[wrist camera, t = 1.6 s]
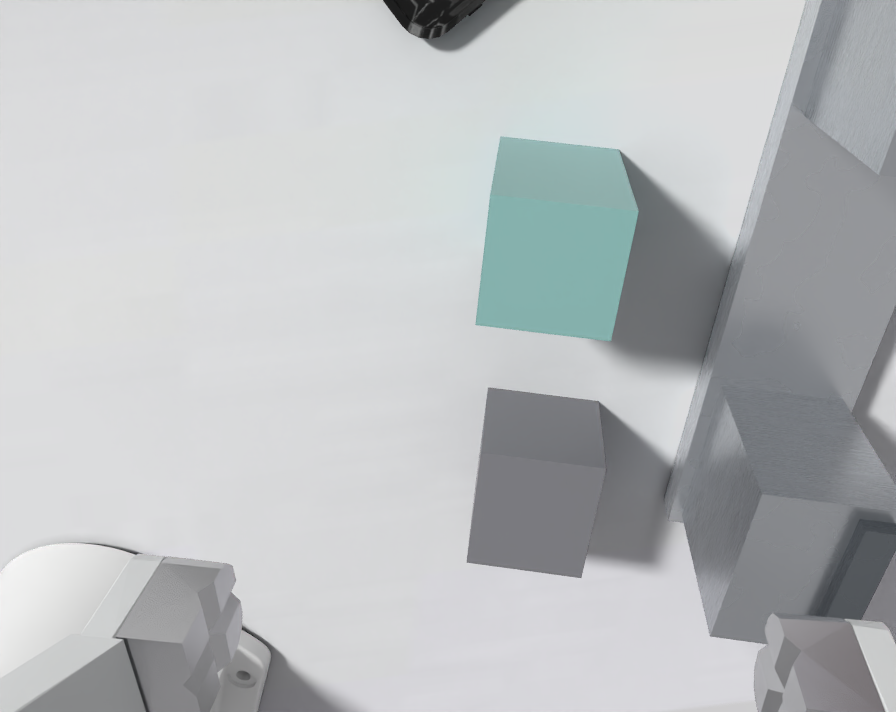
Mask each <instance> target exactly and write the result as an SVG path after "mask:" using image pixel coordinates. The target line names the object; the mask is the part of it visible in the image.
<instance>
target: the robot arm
mask: <svg viewBox="0 0 896 712" xmlns="http://www.w3.org/2000/svg"><path fill="white" fill-rule="evenodd" d="M235 582H236V578H235V574H234V570H233V566H232V565H230V564H227V563H219V562H211V561H202V560H194V559H186V558H177V557H169V556H168V557H165V556H156V555H147V554H137V555H135V554H132V553H129V552H126V551H122V550H118V549H115V548H110V547H106V546H100V545H93V544H83V543H62V544H53V545H47V546H42V547H39V548H35V549H32V550H30V551H27V552H25V553H23V554H21V555H19V556H18V557H16V558H15V559H13V560H12V561H11V562H9V563H8V564H7V565H6V566H5V567H4V569H3V570H2V571H1V572H0V712H258V708H259V704H260V700H261V696H262V692H263V688H264V684H265V680H266V676H267V673H268V669H269V665H270V661H271V653H270V651H269V649H268V648H267V647H266V646H265V645H264V644H263V643H262V642H261V641H259V640H258V639H256V638H255V637H253V636H251V635H250V634H248V633H246V632H245V631H243V630H242V608H241V602H240V600H239V599H238V598H237V597H236V596H235V595H234V594H233V593H232V592H231V591H232V589H233V586H234V584H235ZM764 631H765V634H766V638H767V642H768V645H767V646H765V647H764V648H763V649H761V650H760V651H758V655H757V659H756V663H755V667H754V692H755V701H756V706H757V710H758V712H896V643H895V641H894V638H893V636H892V634H891V632H890V629H889V628H888V627H887V626H886V625H885V624H884V623H883V622H877V621H865V620H854V619H842V618H833V617H820V616H808V615H796V614H783V613H772V614H771V615H770V617H769V618H768V620H767V624H766V627H765V630H764Z"/></svg>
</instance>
